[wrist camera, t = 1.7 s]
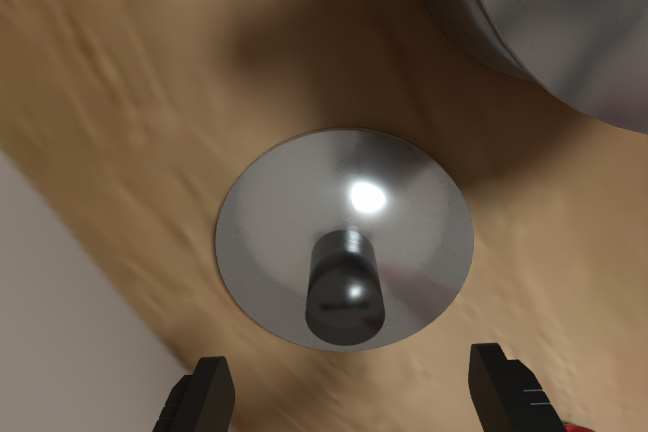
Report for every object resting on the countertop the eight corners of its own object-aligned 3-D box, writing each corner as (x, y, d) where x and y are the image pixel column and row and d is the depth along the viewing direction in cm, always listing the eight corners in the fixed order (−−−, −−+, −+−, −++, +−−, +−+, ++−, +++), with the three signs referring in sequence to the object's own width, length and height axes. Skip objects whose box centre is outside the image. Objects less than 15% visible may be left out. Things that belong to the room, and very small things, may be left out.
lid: (193, 138, 16) (140, 181, 12) (476, 111, 16) (533, 146, 11) (246, 343, 22) (223, 425, 17) (459, 331, 21) (493, 414, 16)
